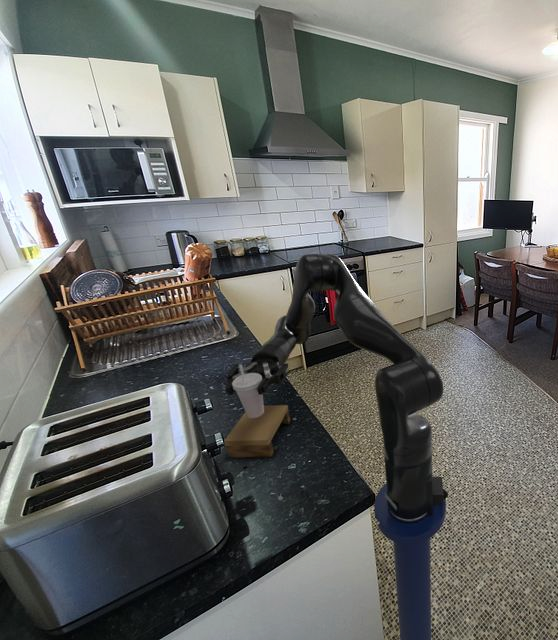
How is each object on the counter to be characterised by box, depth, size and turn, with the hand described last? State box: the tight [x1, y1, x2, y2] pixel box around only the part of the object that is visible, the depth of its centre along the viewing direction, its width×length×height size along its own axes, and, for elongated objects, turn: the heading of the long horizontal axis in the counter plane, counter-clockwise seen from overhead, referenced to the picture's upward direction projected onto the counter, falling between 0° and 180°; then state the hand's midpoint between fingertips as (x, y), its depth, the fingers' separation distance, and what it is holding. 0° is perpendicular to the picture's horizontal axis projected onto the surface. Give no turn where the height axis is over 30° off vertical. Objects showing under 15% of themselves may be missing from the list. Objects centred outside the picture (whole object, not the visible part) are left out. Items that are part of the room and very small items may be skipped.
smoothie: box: [232, 363, 265, 418], centre depth 82 cm, size 6×6×14 cm
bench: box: [223, 404, 291, 458], centre depth 86 cm, size 10×13×5 cm
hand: (244, 391), depth 79 cm, fingers closed on smoothie, 6 cm apart
